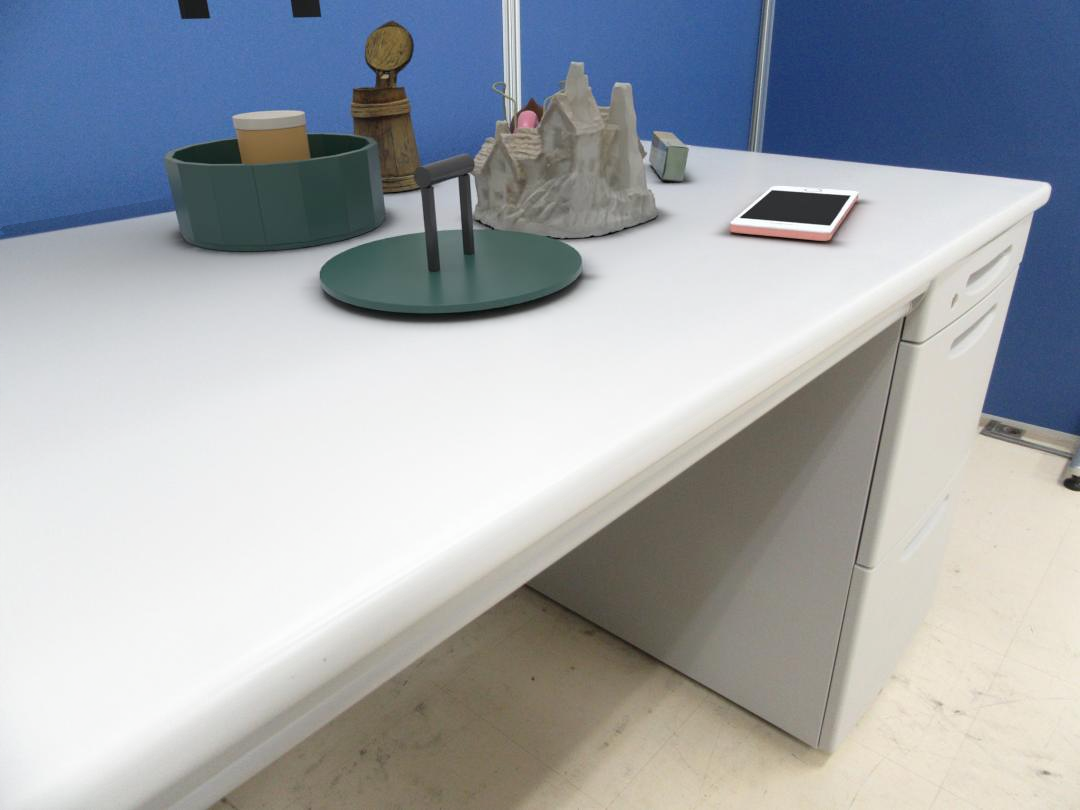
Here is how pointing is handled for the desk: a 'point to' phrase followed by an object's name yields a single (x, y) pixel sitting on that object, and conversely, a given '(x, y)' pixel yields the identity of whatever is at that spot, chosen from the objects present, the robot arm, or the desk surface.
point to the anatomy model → (525, 111)
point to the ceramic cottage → (567, 168)
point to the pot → (276, 194)
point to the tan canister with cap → (272, 136)
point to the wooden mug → (388, 107)
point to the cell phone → (796, 213)
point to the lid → (450, 260)
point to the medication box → (668, 156)
